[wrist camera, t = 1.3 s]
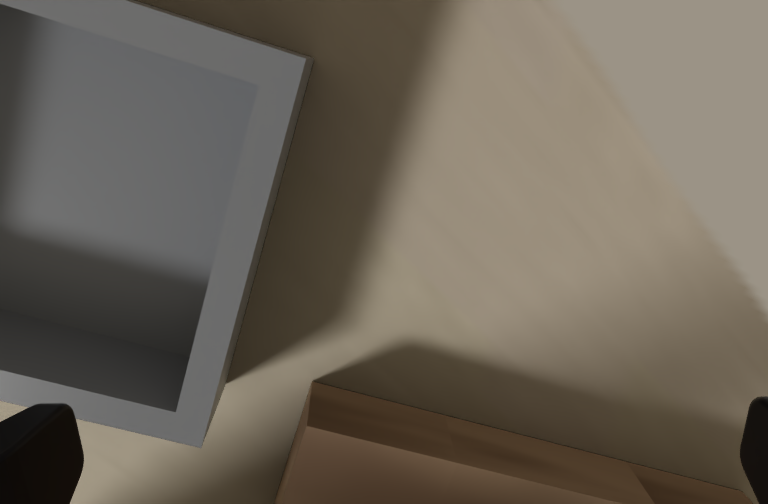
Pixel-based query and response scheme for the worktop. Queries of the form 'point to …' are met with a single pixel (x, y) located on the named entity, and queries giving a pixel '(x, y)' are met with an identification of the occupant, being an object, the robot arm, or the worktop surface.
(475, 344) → the worktop surface
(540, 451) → the socket block
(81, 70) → the bin
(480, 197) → the worktop surface
